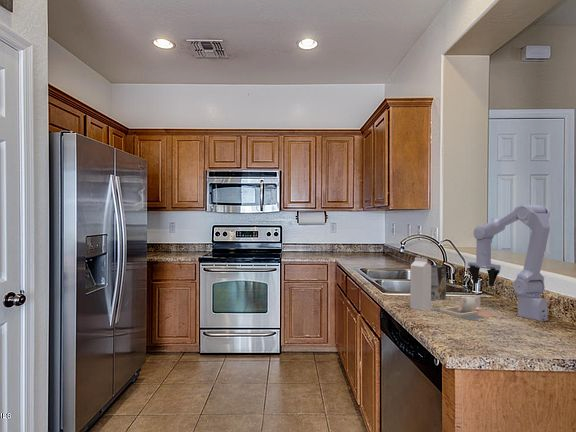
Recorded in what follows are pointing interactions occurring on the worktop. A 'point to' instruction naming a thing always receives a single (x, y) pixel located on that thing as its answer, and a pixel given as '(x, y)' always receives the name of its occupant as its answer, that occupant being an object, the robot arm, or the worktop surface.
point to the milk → (420, 284)
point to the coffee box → (438, 282)
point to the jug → (470, 303)
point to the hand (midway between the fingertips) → (483, 284)
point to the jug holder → (469, 315)
